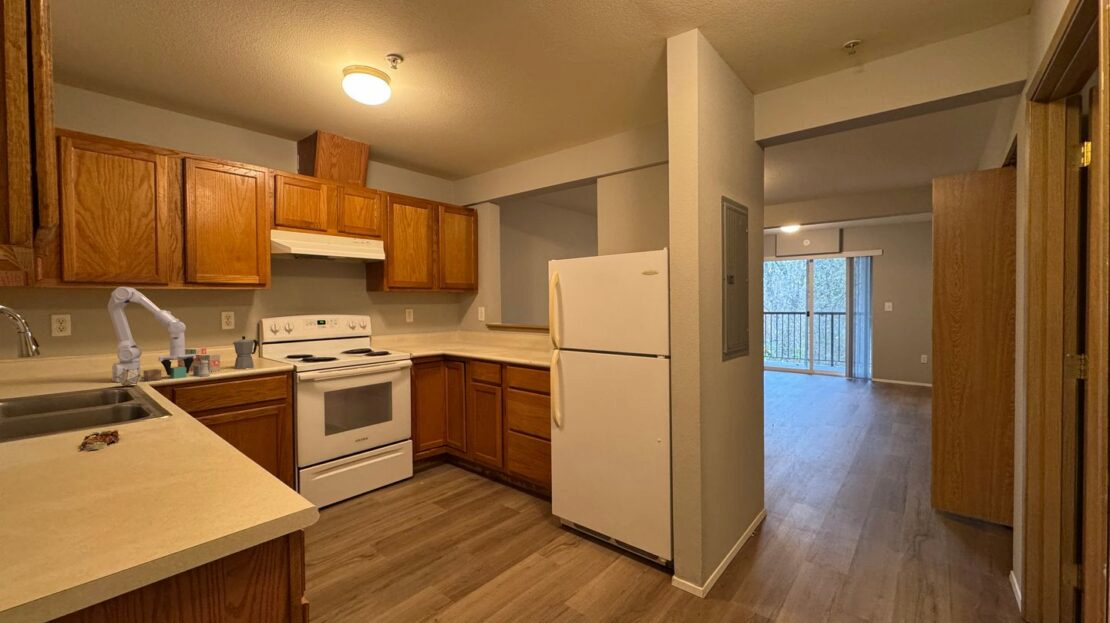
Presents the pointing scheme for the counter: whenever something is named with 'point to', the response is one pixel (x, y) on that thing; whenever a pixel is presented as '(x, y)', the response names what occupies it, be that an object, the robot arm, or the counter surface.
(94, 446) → the pastry
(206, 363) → the rook chess piece
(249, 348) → the coffeepot
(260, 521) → the counter surface
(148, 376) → the walnut block
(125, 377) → the geometric wire lantern
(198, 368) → the gray block
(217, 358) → the stack of blocks
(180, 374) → the muted green block
